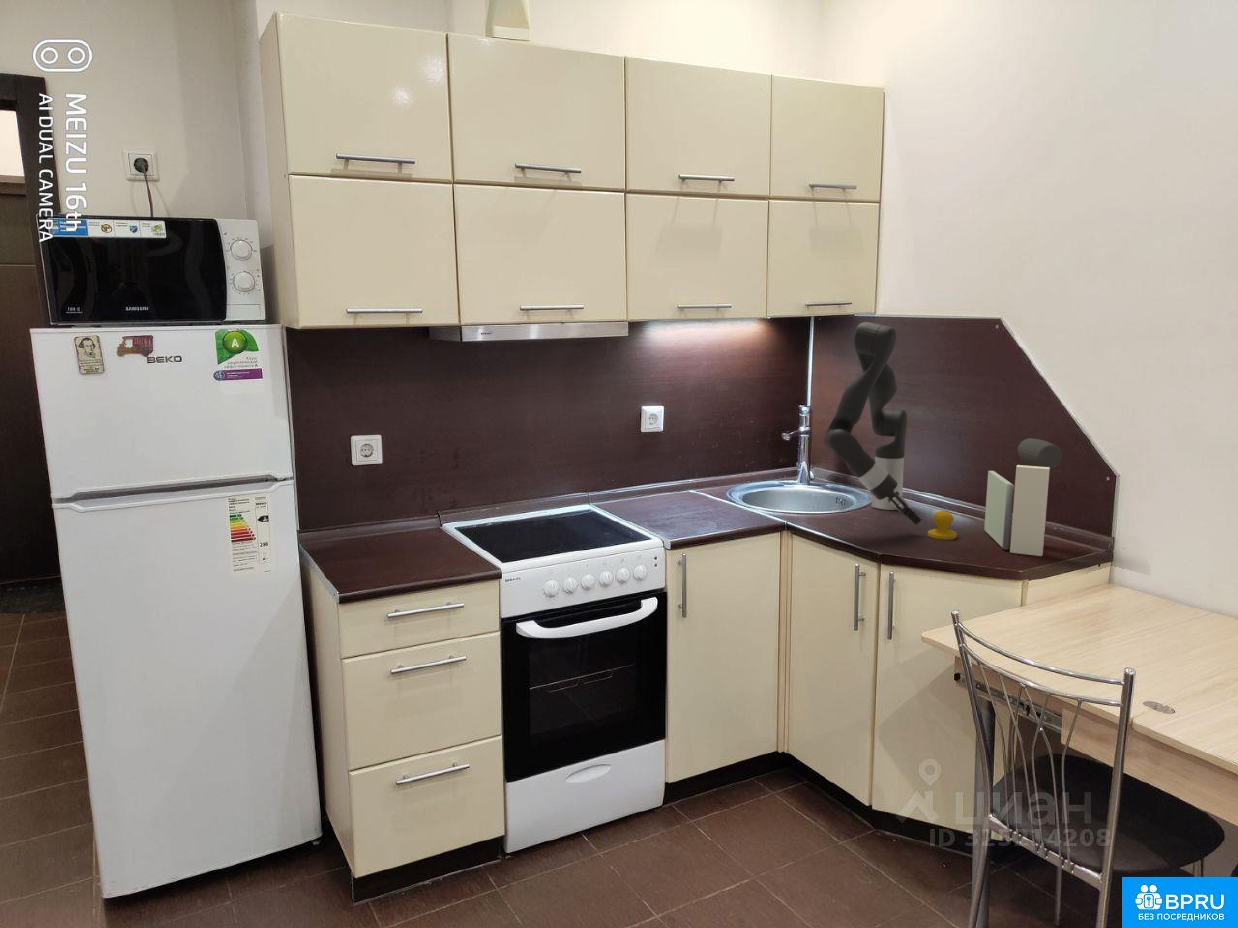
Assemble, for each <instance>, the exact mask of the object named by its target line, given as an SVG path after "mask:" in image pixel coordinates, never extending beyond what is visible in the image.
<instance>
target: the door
mask: <svg viewBox="0 0 1238 928" xmlns="http://www.w3.org/2000/svg"><path fill="white" fill-rule="evenodd" d="M987 473H988V474H987V483H986V484H987V485H986V486H987V487H986V499H985V513H984V514H985V515H984V527H983V528H984V529H983V530H984V531H985V532H986V533H987V534H988V535H989V536H990V537H991V538H992V539H993V540H994V541H995V542H996V543H997V544H998V545H999V546H1000V547H1001V549H1003V550H1010V545H1011V532H1012V518H1013V505H1014V492H1015V484H1013V483H1011V482H1010V481H1008V480H1007V479H1006V478H1005V477H1003V476H1002V475H1000V473H999V474H998V473H997V472H996V471H995V470H988V471H987Z"/></svg>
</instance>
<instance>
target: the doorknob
mask: <svg viewBox="0 0 1238 928" xmlns="http://www.w3.org/2000/svg"><path fill="white" fill-rule="evenodd" d="M932 519H933V522H934V524H935V525H936V527H937V528H933V529H929V530H928V531H927V536H928V537H930V538H933V539H937V540H946V541H947V540H954V539H956V538H957V537H958V536H957V535H958V534H957V532H956V531H953V530H952V529H949V526H951V525H952V523H953V521H954V516H953V515H952V513H950V512H949V511H945V510H939V511H936V512H935V513H934V515H933V516H932Z"/></svg>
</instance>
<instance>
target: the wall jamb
mask: <svg viewBox="0 0 1238 928" xmlns="http://www.w3.org/2000/svg"><path fill="white" fill-rule="evenodd" d="M1050 470H1051V469H1050V467H1039V466H1033V465H1021V464H1017V465H1016V469H1015V479H1014V480H1015V481H1014V494H1013V508H1012V521H1011V534H1010V548H1009V553H1010V554H1011V553H1013V554H1020V555H1028V556H1037V557H1043V554H1044V553H1043V552H1044V542H1045V541H1044V540H1045V533H1046V532H1045V530H1046V529H1045V528H1046V518H1047V507H1048V505H1047V504H1048V495H1049V494H1048V493H1049V481H1050V480H1049V479H1050Z"/></svg>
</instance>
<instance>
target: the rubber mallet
mask: <svg viewBox="0 0 1238 928" xmlns="http://www.w3.org/2000/svg"><path fill="white" fill-rule="evenodd" d="M1017 455H1018V457H1019V459H1021V460H1022V461H1023V462H1025V463H1027V464H1029V465H1030V466H1039V467H1050V470H1051V469H1054V468H1056V467H1057V466H1059V464H1060V463H1061V461H1062V459H1063V456H1062V455H1063V454H1062V450H1061V448H1059V446H1057V445H1055V444H1053V443H1051V442H1049V441H1046V440H1044V439H1038V438H1031V437H1030V438H1025V439H1023V440H1022V441H1020V443H1019V444H1018V448H1017Z"/></svg>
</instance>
